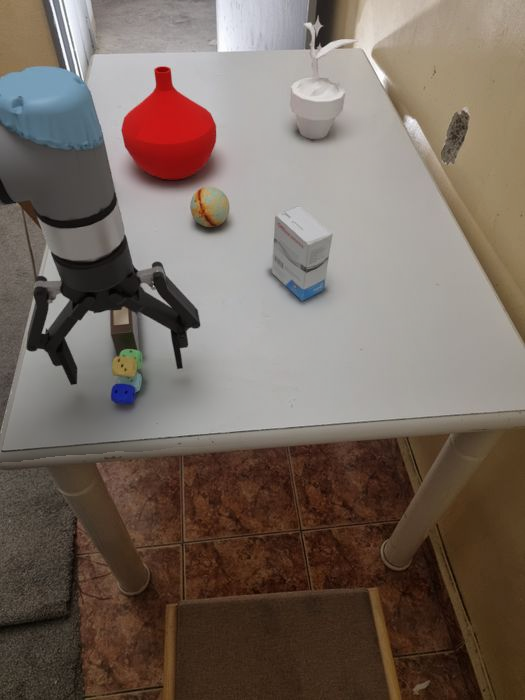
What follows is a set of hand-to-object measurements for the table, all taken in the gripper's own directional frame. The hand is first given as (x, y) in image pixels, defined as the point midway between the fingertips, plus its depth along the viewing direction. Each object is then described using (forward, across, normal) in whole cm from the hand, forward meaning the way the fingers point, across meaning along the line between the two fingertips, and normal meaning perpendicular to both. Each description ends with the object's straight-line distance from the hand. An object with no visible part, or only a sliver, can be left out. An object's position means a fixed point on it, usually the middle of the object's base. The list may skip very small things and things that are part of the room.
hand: (127, 368), depth 68 cm
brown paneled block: (+4, 0, -13) cm, 14 cm away
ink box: (+5, -28, -17) cm, 33 cm away
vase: (+5, -11, -55) cm, 56 cm away
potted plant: (+5, -44, -64) cm, 78 cm away
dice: (+4, 0, 0) cm, 5 cm away
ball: (+5, -16, -35) cm, 39 cm away
